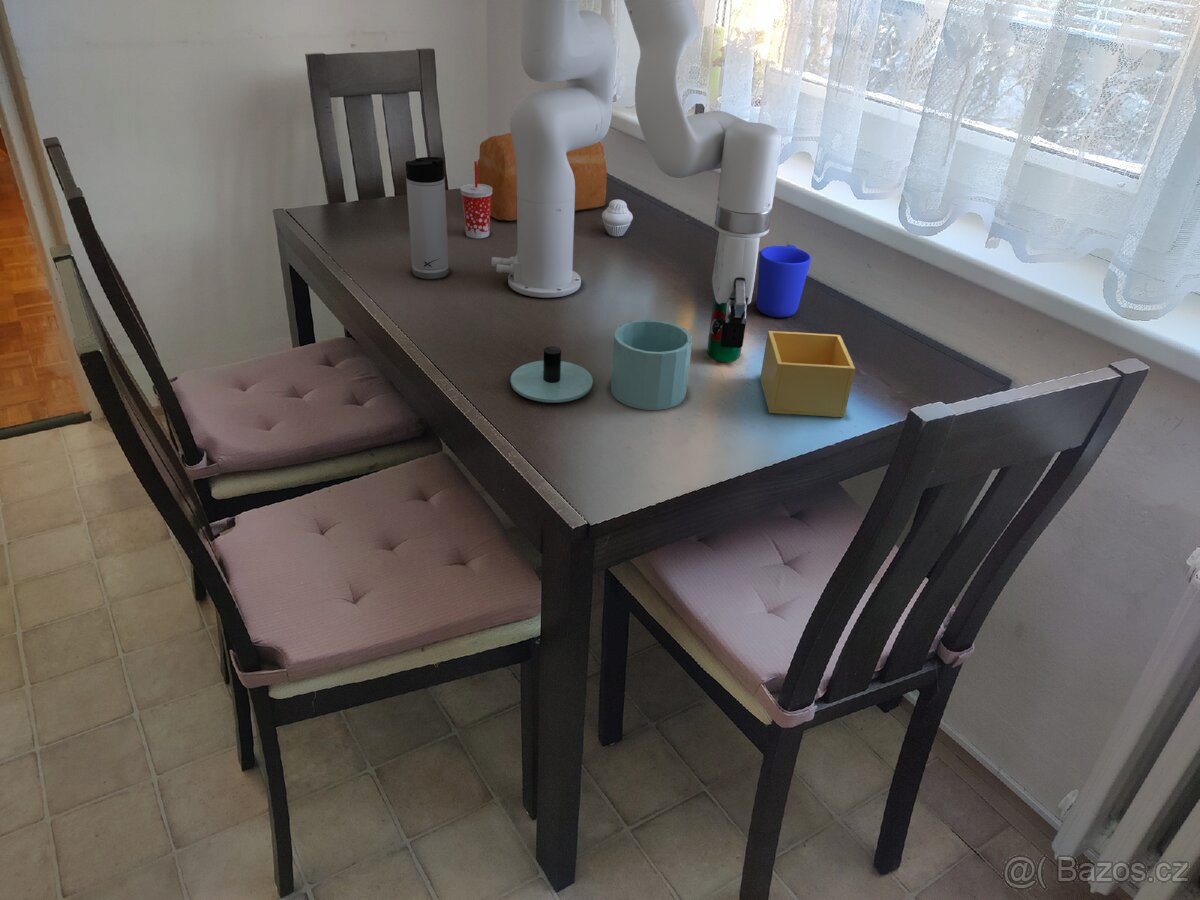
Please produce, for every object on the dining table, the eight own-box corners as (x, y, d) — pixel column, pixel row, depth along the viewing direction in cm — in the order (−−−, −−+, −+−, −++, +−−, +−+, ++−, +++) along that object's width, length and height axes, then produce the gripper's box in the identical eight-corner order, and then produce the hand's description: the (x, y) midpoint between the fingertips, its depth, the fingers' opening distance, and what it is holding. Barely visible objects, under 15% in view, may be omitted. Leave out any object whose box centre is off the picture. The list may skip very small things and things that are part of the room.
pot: (610, 407, 120) (613, 351, 116) (611, 371, 129) (615, 317, 124) (687, 412, 120) (693, 355, 116) (683, 375, 129) (689, 321, 124)
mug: (807, 298, 155) (817, 243, 150) (796, 325, 146) (807, 267, 140) (760, 290, 157) (769, 235, 152) (747, 316, 148) (755, 258, 142)
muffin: (597, 236, 176) (599, 201, 172) (604, 227, 181) (606, 192, 178) (628, 240, 175) (630, 205, 171) (634, 230, 180) (636, 196, 176)
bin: (769, 413, 121) (777, 363, 117) (760, 377, 130) (768, 330, 126) (844, 417, 121) (855, 368, 117) (830, 381, 130) (840, 334, 126)
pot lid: (505, 403, 120) (505, 366, 117) (515, 364, 129) (515, 329, 126) (590, 408, 120) (592, 371, 117) (593, 369, 129) (595, 334, 126)
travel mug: (434, 283, 153) (427, 164, 142) (405, 273, 156) (396, 157, 145) (457, 272, 157) (453, 157, 146) (429, 263, 160) (422, 149, 149)
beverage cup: (497, 238, 173) (496, 165, 165) (466, 241, 171) (463, 167, 163) (488, 227, 177) (486, 156, 170) (458, 230, 175) (455, 158, 168)
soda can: (738, 366, 132) (750, 291, 126) (704, 362, 133) (714, 286, 126) (741, 352, 136) (752, 277, 130) (708, 347, 137) (717, 273, 131)
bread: (611, 208, 191) (615, 132, 183) (501, 225, 179) (501, 144, 170) (578, 190, 201) (580, 117, 192) (472, 205, 189) (469, 128, 180)
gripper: (710, 198, 130) (699, 307, 140) (720, 238, 116) (706, 357, 125) (762, 201, 130) (746, 309, 139) (778, 241, 116) (760, 359, 125)
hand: (727, 332), depth 132 cm, fingers open, 9 cm apart
